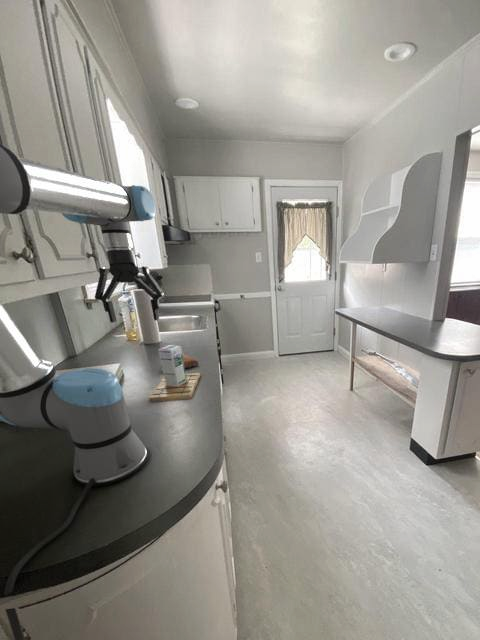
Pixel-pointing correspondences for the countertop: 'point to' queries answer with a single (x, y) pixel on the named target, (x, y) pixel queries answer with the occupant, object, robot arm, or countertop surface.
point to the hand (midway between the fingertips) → (135, 320)
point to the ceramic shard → (189, 361)
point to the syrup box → (173, 365)
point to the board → (175, 389)
